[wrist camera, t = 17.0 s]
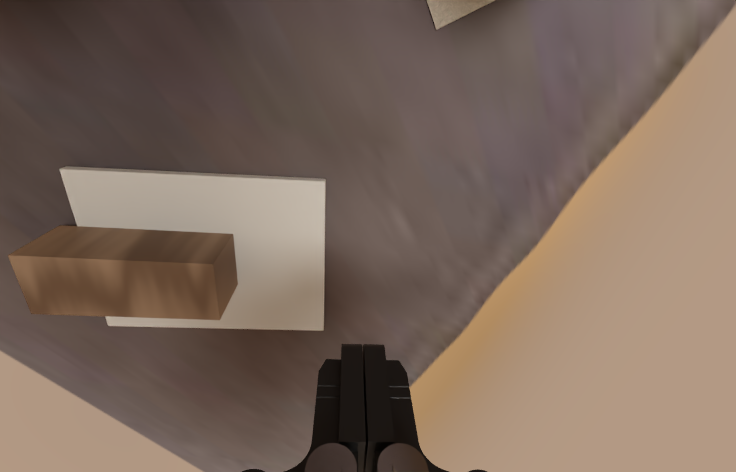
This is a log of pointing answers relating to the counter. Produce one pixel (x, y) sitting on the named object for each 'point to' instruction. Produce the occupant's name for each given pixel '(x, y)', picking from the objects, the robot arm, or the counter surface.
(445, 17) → the condiment
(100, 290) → the block
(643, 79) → the counter surface
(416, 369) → the counter surface
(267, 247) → the mat
